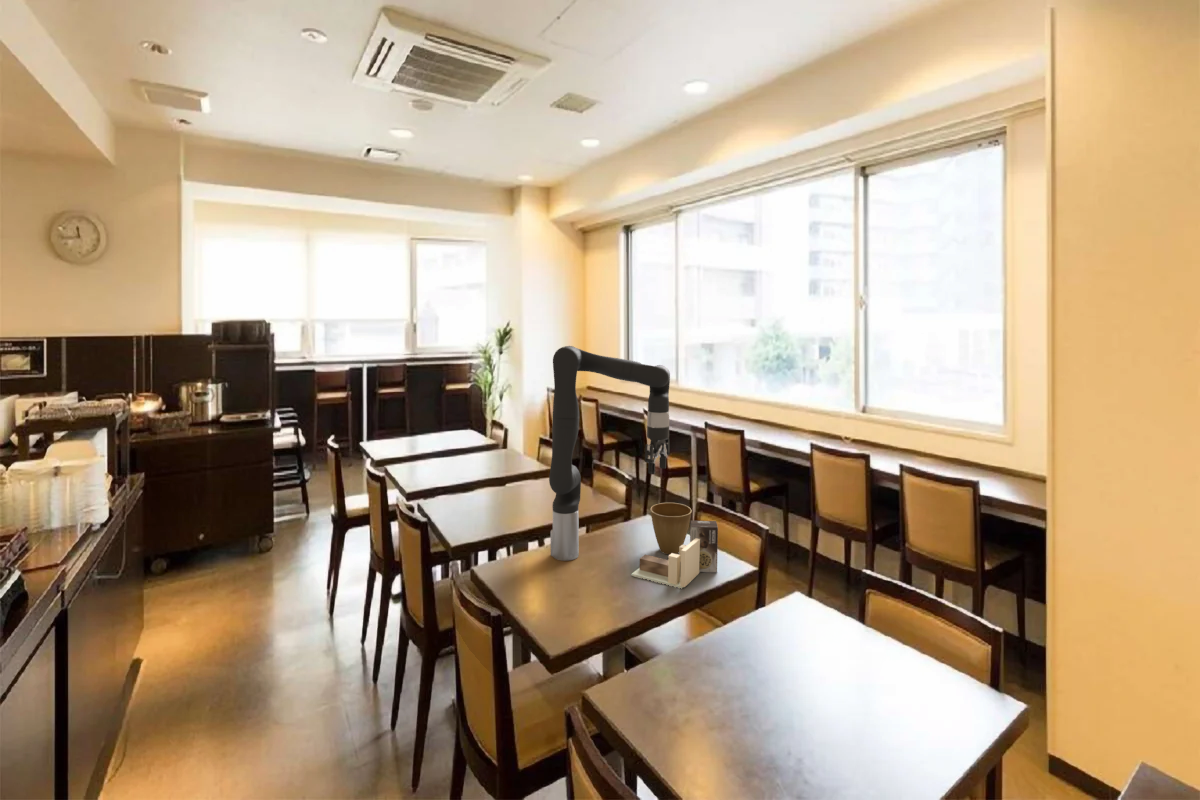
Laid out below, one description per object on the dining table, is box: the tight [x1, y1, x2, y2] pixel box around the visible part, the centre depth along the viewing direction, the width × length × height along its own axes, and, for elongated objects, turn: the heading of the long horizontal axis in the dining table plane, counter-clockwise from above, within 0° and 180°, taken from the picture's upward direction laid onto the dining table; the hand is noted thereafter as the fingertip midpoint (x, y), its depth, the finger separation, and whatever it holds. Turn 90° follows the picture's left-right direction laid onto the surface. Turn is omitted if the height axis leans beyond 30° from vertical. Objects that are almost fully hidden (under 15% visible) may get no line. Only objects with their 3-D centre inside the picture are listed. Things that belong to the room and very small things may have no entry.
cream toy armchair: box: [631, 538, 700, 590], centre depth 198 cm, size 19×12×13 cm, turn 59°
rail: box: [639, 554, 681, 577], centre depth 199 cm, size 14×4×4 cm, turn 59°
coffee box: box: [689, 520, 719, 573], centre depth 203 cm, size 9×6×16 cm
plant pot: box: [650, 502, 693, 555], centre depth 218 cm, size 15×15×16 cm
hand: (657, 471), depth 205 cm, fingers open, 8 cm apart
